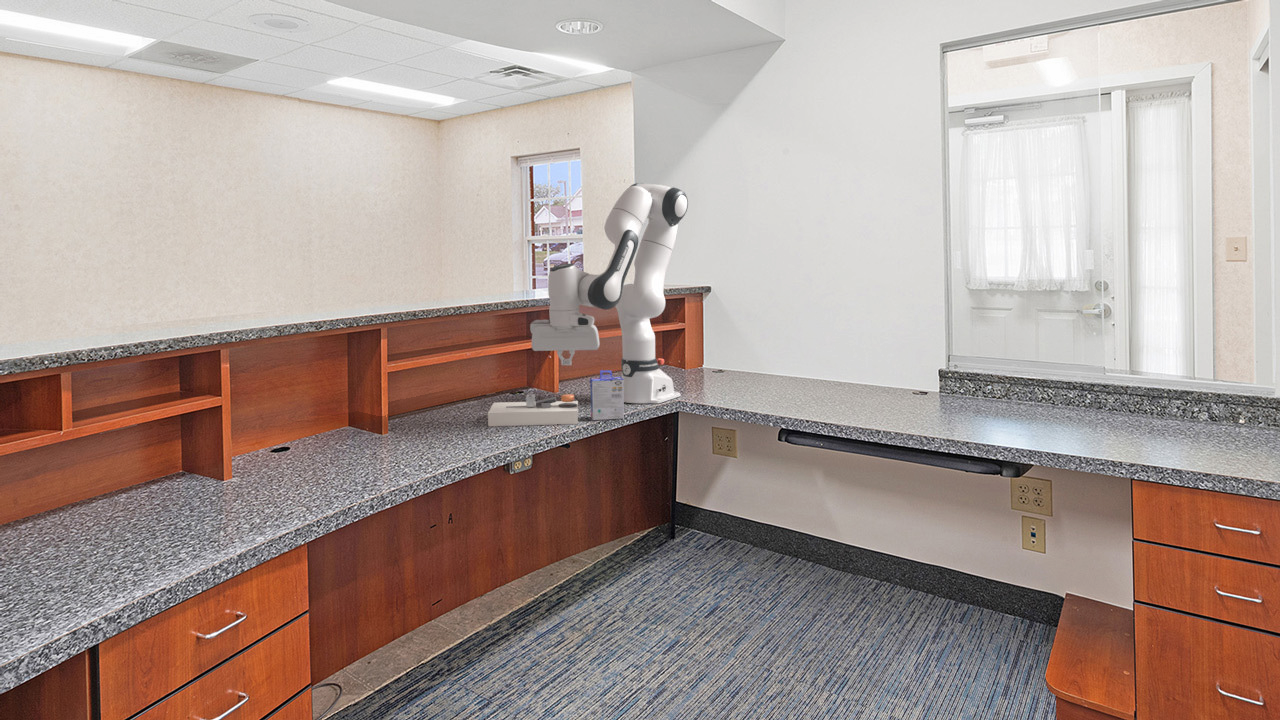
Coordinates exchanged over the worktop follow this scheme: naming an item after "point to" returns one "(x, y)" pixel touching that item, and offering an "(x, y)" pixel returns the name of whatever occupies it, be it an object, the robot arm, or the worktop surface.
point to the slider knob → (530, 400)
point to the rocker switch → (546, 401)
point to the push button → (567, 398)
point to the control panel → (533, 414)
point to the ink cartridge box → (607, 397)
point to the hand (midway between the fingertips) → (566, 365)
